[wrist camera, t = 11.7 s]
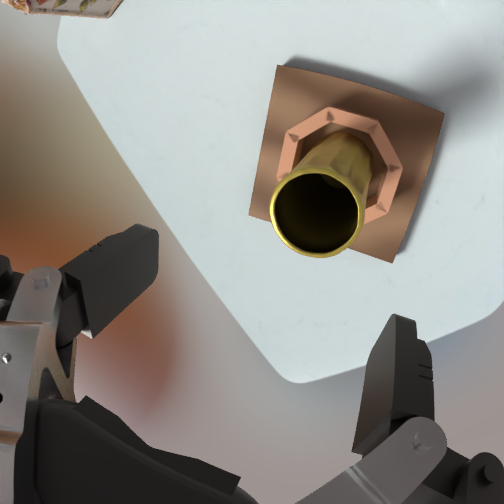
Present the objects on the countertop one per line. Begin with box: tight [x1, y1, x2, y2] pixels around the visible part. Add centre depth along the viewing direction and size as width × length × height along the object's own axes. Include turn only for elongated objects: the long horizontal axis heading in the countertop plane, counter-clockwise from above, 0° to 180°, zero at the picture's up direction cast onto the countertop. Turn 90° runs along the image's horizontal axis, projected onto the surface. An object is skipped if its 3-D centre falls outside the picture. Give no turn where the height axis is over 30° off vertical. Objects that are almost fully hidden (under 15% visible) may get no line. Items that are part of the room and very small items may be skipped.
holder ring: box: [276, 106, 403, 224], centre depth 28 cm, size 10×10×3 cm
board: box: [249, 65, 445, 263], centre depth 30 cm, size 16×16×2 cm
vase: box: [269, 132, 374, 258], centre depth 23 cm, size 6×6×14 cm
